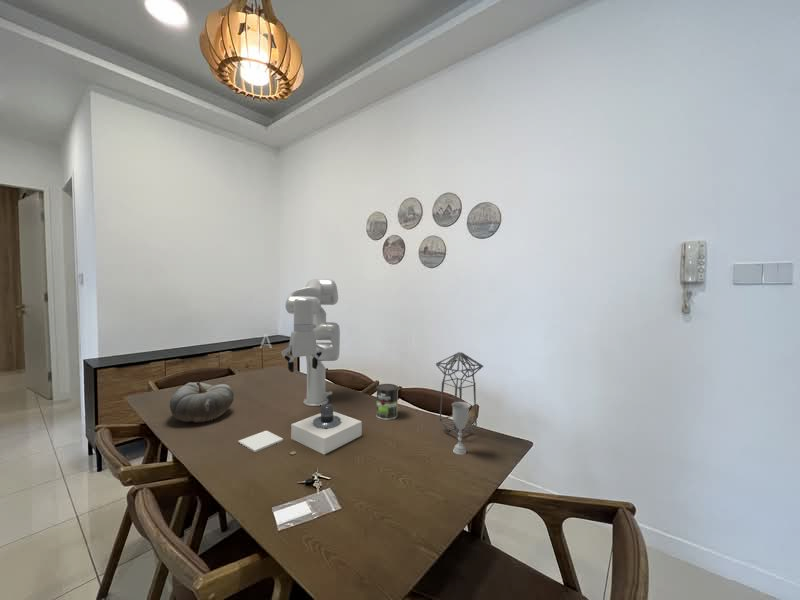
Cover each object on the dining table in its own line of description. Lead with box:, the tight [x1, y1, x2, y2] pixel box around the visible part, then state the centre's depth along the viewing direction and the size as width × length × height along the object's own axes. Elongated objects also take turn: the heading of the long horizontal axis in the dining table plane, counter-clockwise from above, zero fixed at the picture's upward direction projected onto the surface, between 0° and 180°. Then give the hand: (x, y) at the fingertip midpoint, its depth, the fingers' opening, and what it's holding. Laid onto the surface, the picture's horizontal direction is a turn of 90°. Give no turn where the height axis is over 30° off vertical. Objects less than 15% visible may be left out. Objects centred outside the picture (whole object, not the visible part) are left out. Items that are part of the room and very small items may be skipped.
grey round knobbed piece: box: [313, 403, 341, 429], centre depth 137 cm, size 11×11×12 cm
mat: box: [237, 430, 284, 453], centre depth 133 cm, size 12×12×1 cm
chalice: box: [451, 401, 471, 455], centre depth 128 cm, size 7×7×18 cm
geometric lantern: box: [435, 351, 484, 439], centre depth 143 cm, size 16×16×35 cm
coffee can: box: [375, 383, 399, 421], centre depth 161 cm, size 10×10×14 cm
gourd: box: [169, 381, 235, 423], centre depth 155 cm, size 25×25×17 cm
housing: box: [290, 410, 363, 455], centre depth 138 cm, size 20×20×6 cm
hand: (303, 369), depth 137 cm, fingers open, 9 cm apart
